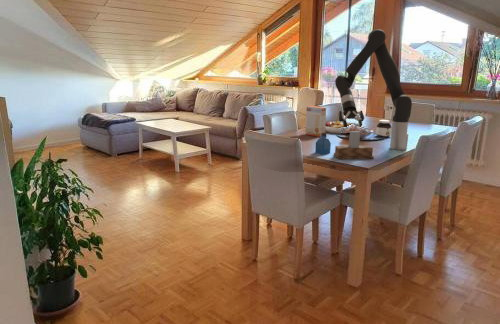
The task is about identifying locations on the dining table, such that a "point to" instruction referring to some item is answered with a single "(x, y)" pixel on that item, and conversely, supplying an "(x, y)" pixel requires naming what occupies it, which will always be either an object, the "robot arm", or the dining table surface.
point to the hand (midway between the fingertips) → (353, 126)
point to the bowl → (334, 127)
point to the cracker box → (315, 120)
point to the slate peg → (354, 139)
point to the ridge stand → (353, 152)
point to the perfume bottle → (323, 145)
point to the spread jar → (383, 128)
